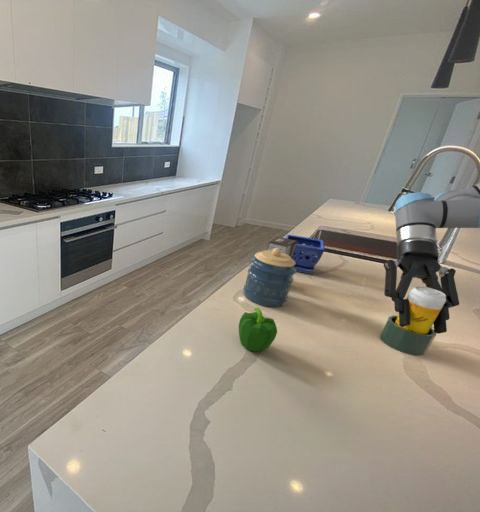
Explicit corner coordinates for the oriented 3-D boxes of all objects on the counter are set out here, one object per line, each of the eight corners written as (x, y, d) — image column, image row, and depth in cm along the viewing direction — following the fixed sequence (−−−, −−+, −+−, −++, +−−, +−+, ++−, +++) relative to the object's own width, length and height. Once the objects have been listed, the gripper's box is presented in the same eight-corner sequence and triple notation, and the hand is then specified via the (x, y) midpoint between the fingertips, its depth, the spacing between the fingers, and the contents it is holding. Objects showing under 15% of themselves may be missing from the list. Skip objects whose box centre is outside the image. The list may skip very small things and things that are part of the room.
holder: (414, 339, 81) (424, 320, 79) (432, 359, 74) (444, 340, 71) (374, 330, 84) (382, 312, 82) (388, 349, 77) (398, 330, 74)
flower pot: (276, 268, 122) (284, 241, 117) (279, 258, 132) (286, 233, 127) (315, 277, 115) (325, 249, 110) (315, 266, 125) (324, 240, 120)
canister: (246, 284, 108) (258, 238, 101) (287, 295, 101) (303, 247, 94) (238, 299, 98) (251, 249, 91) (283, 312, 91) (301, 260, 84)
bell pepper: (273, 360, 71) (284, 325, 68) (236, 351, 74) (245, 317, 70) (267, 339, 79) (277, 307, 75) (234, 332, 81) (242, 300, 77)
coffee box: (267, 274, 116) (278, 235, 110) (285, 281, 112) (298, 240, 105) (257, 281, 110) (268, 240, 104) (276, 288, 106) (289, 246, 100)
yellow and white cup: (382, 332, 82) (406, 284, 76) (407, 335, 81) (432, 286, 75) (400, 347, 76) (427, 296, 70) (426, 350, 75) (456, 298, 70)
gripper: (452, 257, 81) (461, 341, 73) (365, 245, 87) (366, 322, 80) (476, 245, 74) (489, 336, 66) (380, 233, 81) (382, 315, 73)
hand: (422, 328), depth 73 cm, fingers closed on yellow and white cup, 6 cm apart
